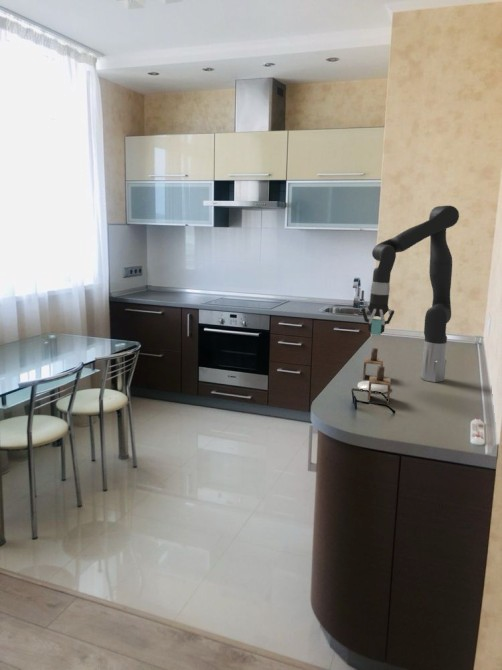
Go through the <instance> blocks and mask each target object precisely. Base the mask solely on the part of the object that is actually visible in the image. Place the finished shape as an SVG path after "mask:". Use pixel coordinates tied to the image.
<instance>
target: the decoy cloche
mask: <svg viewBox="0 0 502 670" xmlns="http://www.w3.org/2000/svg"><path fill="white" fill-rule="evenodd" d="M368 381H369V390H368V391H371V384H380V385H388V389H387V392H386V404H387V405H389V404H390V394H391V386H392V385H391V383H392V382H391V377H385V366H384V365H383V366H381V365H379V366H377V371H376V376H373V375H372V376H371V375H369V380H368ZM371 394H372V393H371V392H367V401H368V400H369V401H371ZM387 399H388V401H387Z"/></svg>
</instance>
